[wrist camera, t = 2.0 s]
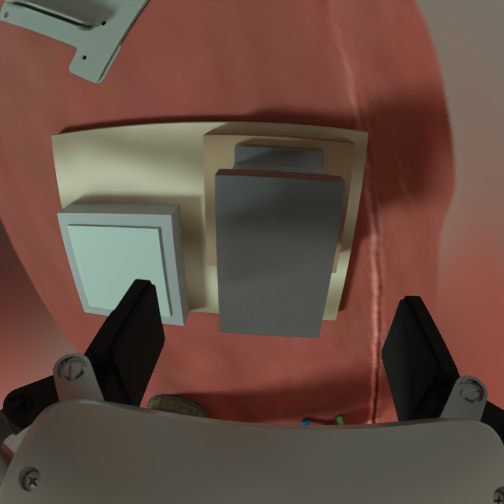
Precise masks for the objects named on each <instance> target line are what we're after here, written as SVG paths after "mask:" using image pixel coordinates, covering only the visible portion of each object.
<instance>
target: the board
mask: <svg viewBox="0 0 504 504" xmlns="http://www.w3.org/2000/svg"><path fill="white" fill-rule="evenodd" d="M210 130H254V131H276V132H292V133H305V134H317V135H328V136H337V137H346V138H348V139H349V140H351V141H352V142H353V143H355V152H354V161H353V169H352V177H351V185H350V192H349V199H348V206H347V213H346V219H345V225H344V231H343V237H342V243H341V249H340V255H339V260H338V265H337V271H336V273H332V274H331V280H330V285H329V290H328V295H327V300H326V305H325V310H324V315H323V319H322V320H336V317H337V313H338V308H339V304H340V300H341V296H342V291H343V287H344V282H345V277H346V273H347V268H348V263H349V258H350V253H351V248H352V243H353V237H354V232H355V226H356V221H357V215H358V209H359V202H360V196H361V189H362V183H363V176H364V168H365V160H366V152H367V144H368V135H369V133H367V132H365V131H360V130H352V129H344V128H335V127H326V126H316V125H304V124H291V123H274V122H250V121H185V122H161V123H145V124H132V125H121V126H111V127H101V128H93V129H85V130H78V131H71V132H64V133H58V134H55V135H52V136H51V137H52V146H53V154H54V162H55V169H56V176H57V182H58V188H59V194H60V199H61V204H62V209H63V208H65V207H66V206H67V205H69V204H91V203H114V204H178V205H179V209H180V223H181V235H182V247H183V258H184V268H185V278H186V288H187V297H188V305H189V311H196V312H207V313H218V314H219V303H218V280H217V266H207V246H206V224H205V196H204V154H203V135H204V134H206V133H207V132H209V131H210Z"/></svg>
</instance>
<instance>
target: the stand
mask: <svg viewBox="0 0 504 504" xmlns="http://www.w3.org/2000/svg"><path fill="white" fill-rule="evenodd" d="M236 144H260V145H279V146H295V147H308V148H320V149H322V150H323V151H324V161H323V170H324V172H325V174H326V175H336V176H341V177H342V178H343V180H344V181H345V183H346V186H345V193H344V201H343V208H342V215H341V221H340V228H339V234H338V240H337V246H336V252H335V258H334V264H333V269H332V273H336V271H337V265H338V260H339V255H340V249H341V243H342V237H343V231H344V225H345V219H346V213H347V206H348V199H349V192H350V185H351V177H352V169H353V161H354V152H355V143H353V142H352V141H351V140H349V139H348V138H346V137H337V136H328V135H317V134H305V133H292V132H276V131H254V130H210V131H209V132H207V133H206V134H204V135H203V154H204V196H205V224H206V246H207V266H217V253H216V218H215V174H216V173H217V171H218V170H219V169H232V167H233V165H234V150H235V145H236Z"/></svg>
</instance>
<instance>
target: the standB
mask: <svg viewBox="0 0 504 504" xmlns="http://www.w3.org/2000/svg"><path fill="white" fill-rule="evenodd" d="M57 215H58V220H59V224H60V228H61V233H62V237H63V241H64V245H65V249H66V253H67V256H68V260H69V264H70V267H71V271H72V274H73V277H74V281H75V284H76V287H77V290H78V293H79V297H80V300H81V303H82V306H83V308H84V311H85V312H88V313H94V314H100V315H107V316H109V314H110V313H111V312H112V311H113V310H115V308H116V307H117V305H118V304H119V302H120V301H121V299H122V298H123V296H124V295H125V293H126V292H127V290H128V289H129V287H130V286H131V284H132V283H133V281H134V280H135V279H144V280H150V281H151V283H152V284H154V285H155V286H156V291H157V297H158V303H159V309H160V314H161V320H162V323H164V324H172V325H181V326H184V324H185V321H186V318H187V316H188V313H189V305H188V297H187V288H186V278H185V268H184V258H183V247H182V235H181V223H180V209H179V205H178V204H114V203H91V204H69V205H67V206H66V207H65V208H63V209H62V210H61V211H59V212H58V213H57Z"/></svg>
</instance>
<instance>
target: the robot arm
mask: <svg viewBox="0 0 504 504" xmlns="http://www.w3.org/2000/svg"><path fill="white" fill-rule="evenodd" d="M164 341H165V336H164V330H163V325H162V320H161V314H160V309H159V303H158V297H157V291H156V286H155V285H154V284H152V283H151V281H150V280H144V279H135V280H134V281H133V283H132V284H131V286H130V287H129V289H128V290H127V292H126V293H125V295H124V296H123V298H122V299H121V301H120V302H119V304H118V305H117V307H116V308H115V310H113V311H112V312H111V313H110V314H109V316H108V317H107V319H106V321H105V322H104V324H103V325H102V327H101V328H100V330H99V331H98V333H97V335H96V336H95V338H94V339H93V341H92V342H91V344H90V346H89V347H88V349H87V351H86V352H85V354H84V355H83V354H80V353H72V354H67V355H65V356H63V357H61V358H60V359H59V360H58V361H57V362H56V363H55V365H54V368H53V375H52V376H49V377H47V378H44V379H42V380H39V381H37V382H34V383H31V384H28V385H26V386H23V387H20V388H18V389H15V390H13V391H12V392H10V393H9V394H8V395H7V397H6V398H5V400H4V403H3V409H1V410H0V504H504V410H502V409H501V408H499V407H497V406H495V405H494V404H492V403H490V402H489V401H487V395H488V394H487V389H486V387H485V385H484V384H483V383H482V382H481V381H480V380H479V379H477V378H475V377H472V376H462V377H460V376H459V373H458V370H457V368H456V365H455V363H454V361H453V359H452V357H451V355H450V352H449V350H448V349H447V346H446V344H445V342H444V340H443V338H442V337H441V334H440V333H439V330H438V329H437V327H436V325H435V323H434V321H433V319H432V317H431V315H430V313H429V312H428V310H427V308H426V306H425V304H424V302H423V301H422V299H421V297H420V296H405V298H404V299H402V300H400V302H399V305H398V308H397V311H396V314H395V316H394V319H393V322H392V325H391V328H390V330H389V333H388V336H387V338H386V341H385V344H384V346H383V349H382V360H383V364H384V367H385V371H386V374H387V378H388V382H389V385H390V389H391V393H392V397H393V400H394V404H395V408H396V412H397V416H398V421H399V422H386V423H372V424H353V425H284V424H265V423H250V422H239V421H228V420H219V419H211V418H203V417H195V416H189V415H182V414H176V413H170V412H164V411H158V410H152V409H147V408H142V407H139V406H140V403H141V401H142V398H143V395H144V393H145V390H146V388H147V385H148V383H149V380H150V378H151V375H152V373H153V370H154V368H155V365H156V363H157V360H158V358H159V355H160V353H161V350H162V348H163V345H164Z"/></svg>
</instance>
